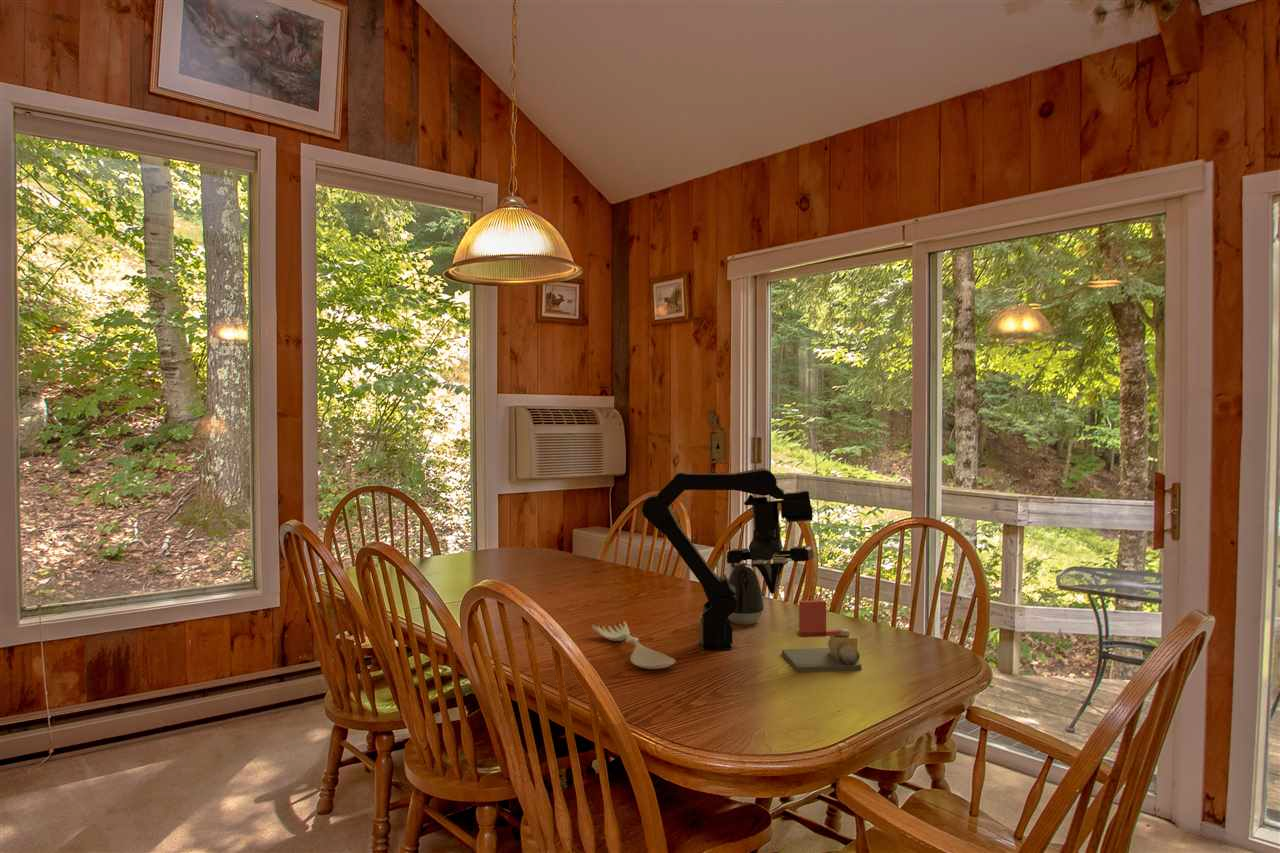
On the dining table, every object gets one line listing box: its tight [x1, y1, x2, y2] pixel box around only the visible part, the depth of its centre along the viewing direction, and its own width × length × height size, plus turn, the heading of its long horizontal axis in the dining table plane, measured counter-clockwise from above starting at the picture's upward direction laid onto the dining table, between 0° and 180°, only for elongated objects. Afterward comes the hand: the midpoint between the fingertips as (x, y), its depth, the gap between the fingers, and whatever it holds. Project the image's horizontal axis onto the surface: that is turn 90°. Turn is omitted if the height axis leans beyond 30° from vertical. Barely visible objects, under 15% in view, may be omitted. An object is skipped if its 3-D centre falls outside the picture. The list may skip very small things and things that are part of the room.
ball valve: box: [827, 631, 861, 665], centre depth 166 cm, size 4×9×5 cm, turn 6°
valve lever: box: [796, 599, 850, 638], centre depth 166 cm, size 11×2×8 cm, turn 96°
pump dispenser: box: [728, 562, 765, 626], centre depth 199 cm, size 10×10×15 cm
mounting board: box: [781, 647, 862, 673], centre depth 168 cm, size 14×12×1 cm
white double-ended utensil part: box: [591, 620, 677, 670], centre depth 174 cm, size 9×32×4 cm, turn 23°
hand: (772, 593), depth 176 cm, fingers closed
